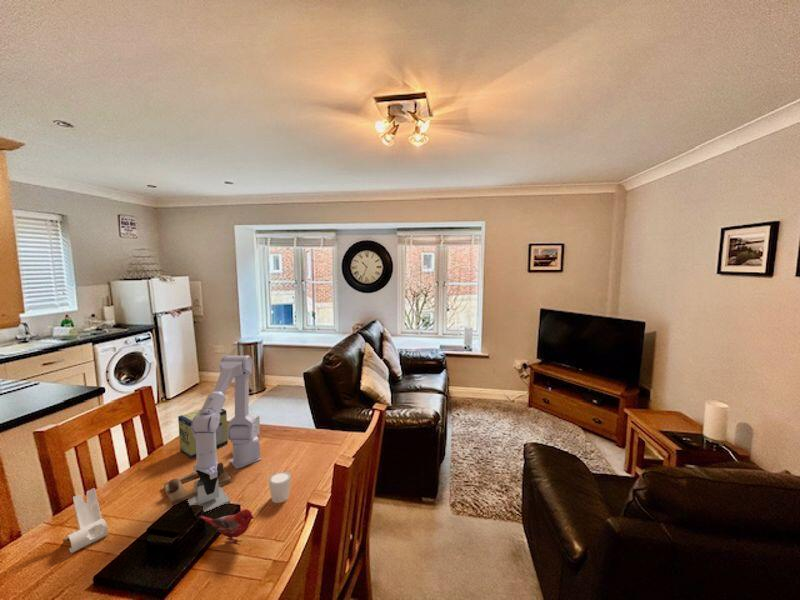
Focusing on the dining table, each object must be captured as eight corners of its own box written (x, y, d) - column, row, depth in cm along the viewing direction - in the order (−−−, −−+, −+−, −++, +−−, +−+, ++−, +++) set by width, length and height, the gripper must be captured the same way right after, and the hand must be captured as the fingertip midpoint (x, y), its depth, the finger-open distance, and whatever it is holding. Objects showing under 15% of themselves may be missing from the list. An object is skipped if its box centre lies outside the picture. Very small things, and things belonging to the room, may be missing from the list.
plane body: (219, 466, 130) (219, 455, 130) (231, 481, 121) (230, 469, 120) (163, 487, 117) (163, 475, 117) (172, 505, 108) (171, 492, 108)
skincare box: (252, 447, 145) (251, 420, 144) (243, 446, 145) (242, 419, 144) (260, 440, 151) (259, 415, 150) (252, 439, 151) (251, 414, 150)
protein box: (179, 451, 141) (177, 416, 140) (216, 437, 154) (215, 404, 153) (190, 459, 135) (188, 422, 134) (228, 443, 148) (227, 409, 147)
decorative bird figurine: (252, 549, 91) (250, 514, 91) (195, 540, 94) (193, 506, 94) (258, 540, 94) (257, 507, 93) (203, 532, 97) (201, 499, 96)
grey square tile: (220, 488, 117) (220, 486, 117) (230, 502, 110) (230, 500, 110) (187, 502, 110) (187, 499, 110) (195, 518, 103) (195, 515, 103)
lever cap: (215, 490, 113) (214, 473, 112) (219, 496, 110) (218, 479, 110) (195, 499, 109) (194, 481, 108) (198, 505, 106) (197, 487, 105)
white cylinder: (295, 493, 115) (294, 473, 114) (282, 506, 108) (281, 485, 108) (278, 488, 117) (278, 469, 116) (264, 501, 110) (264, 481, 110)
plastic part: (72, 555, 89) (69, 514, 88) (62, 539, 95) (58, 500, 94) (108, 537, 96) (105, 498, 95) (96, 522, 101) (94, 486, 100)
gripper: (186, 446, 111) (188, 485, 112) (198, 464, 101) (200, 506, 102) (210, 439, 116) (211, 476, 117) (223, 455, 105) (225, 496, 107)
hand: (208, 490), depth 110 cm, fingers closed on lever cap, 4 cm apart
